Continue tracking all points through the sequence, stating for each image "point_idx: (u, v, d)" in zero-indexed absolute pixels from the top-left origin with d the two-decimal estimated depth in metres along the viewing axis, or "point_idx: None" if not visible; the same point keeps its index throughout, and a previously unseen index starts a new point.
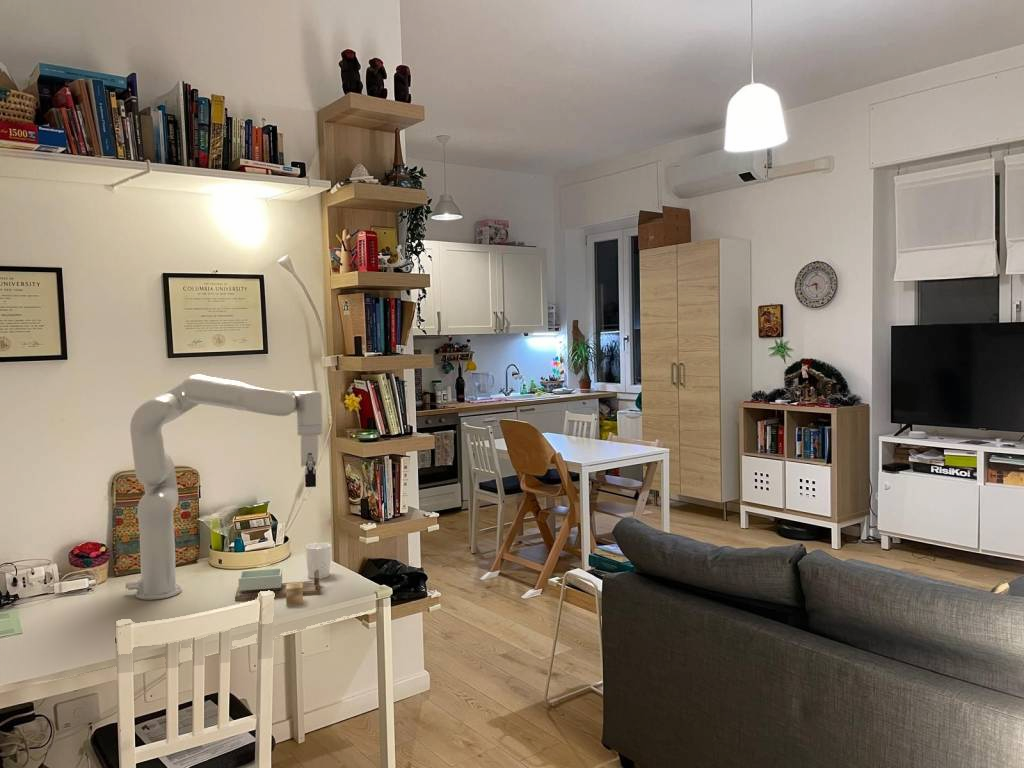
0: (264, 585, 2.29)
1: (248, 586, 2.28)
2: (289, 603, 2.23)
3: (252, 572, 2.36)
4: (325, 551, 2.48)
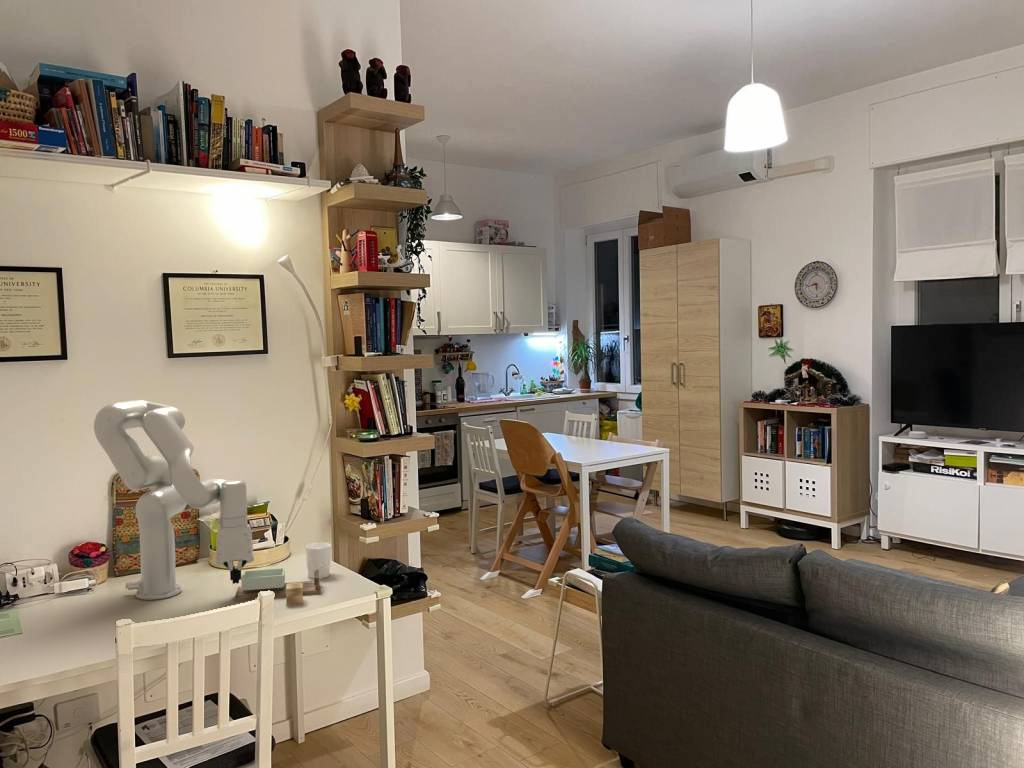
0: (267, 584, 2.30)
1: (251, 586, 2.29)
2: (289, 603, 2.23)
3: (255, 571, 2.36)
4: (325, 551, 2.48)
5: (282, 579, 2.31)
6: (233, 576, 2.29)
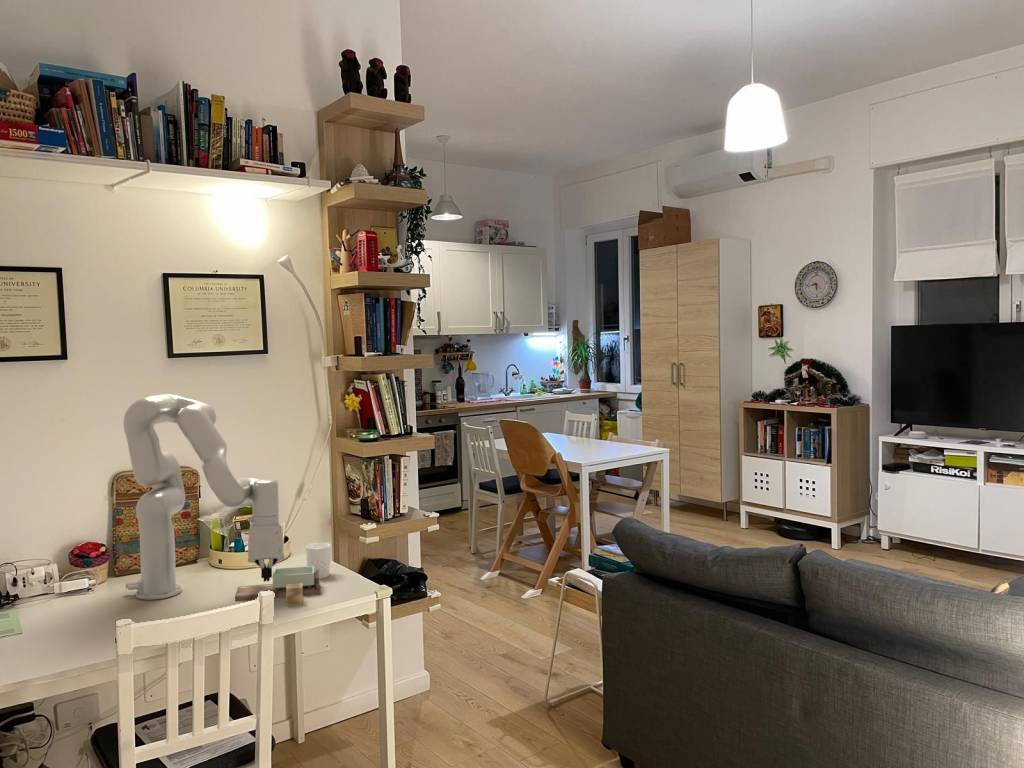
0: (297, 582, 2.32)
1: (281, 583, 2.31)
2: (289, 603, 2.23)
3: (285, 569, 2.38)
4: (325, 551, 2.48)
5: (312, 577, 2.33)
6: (264, 574, 2.32)
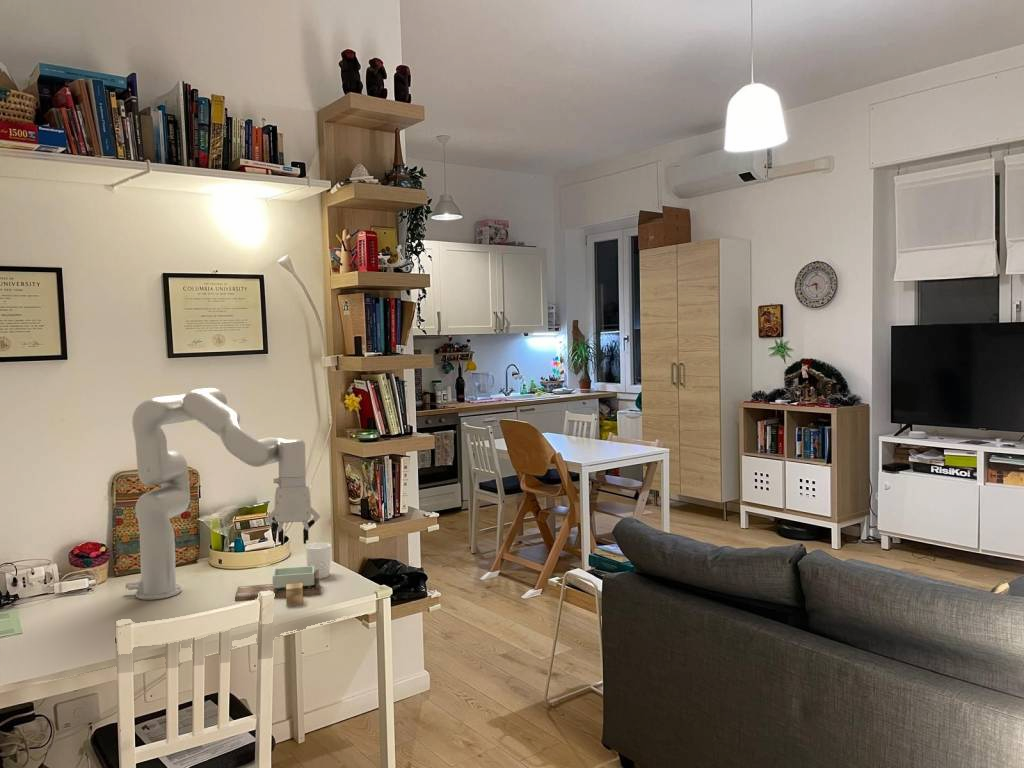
0: (297, 582, 2.32)
1: (281, 583, 2.31)
2: (289, 603, 2.23)
3: (285, 569, 2.38)
4: (325, 551, 2.48)
5: (312, 577, 2.33)
6: (281, 537, 2.22)
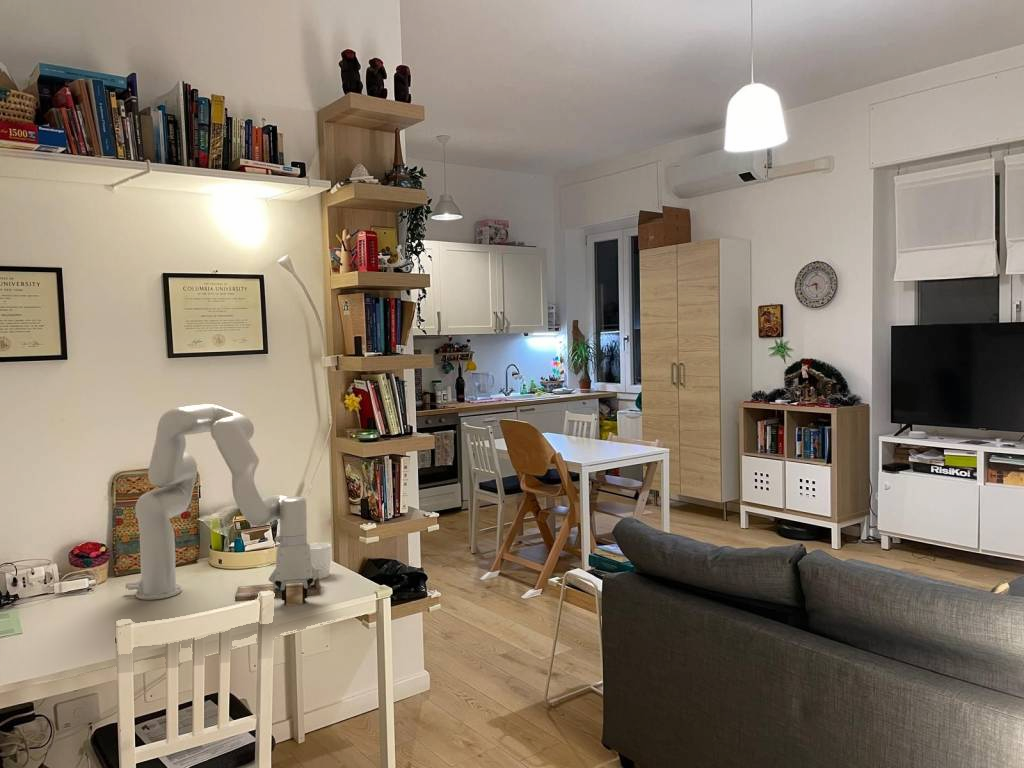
0: (297, 582, 2.32)
1: None
2: (289, 603, 2.22)
3: None
4: (325, 551, 2.48)
5: None
6: (285, 596, 2.23)
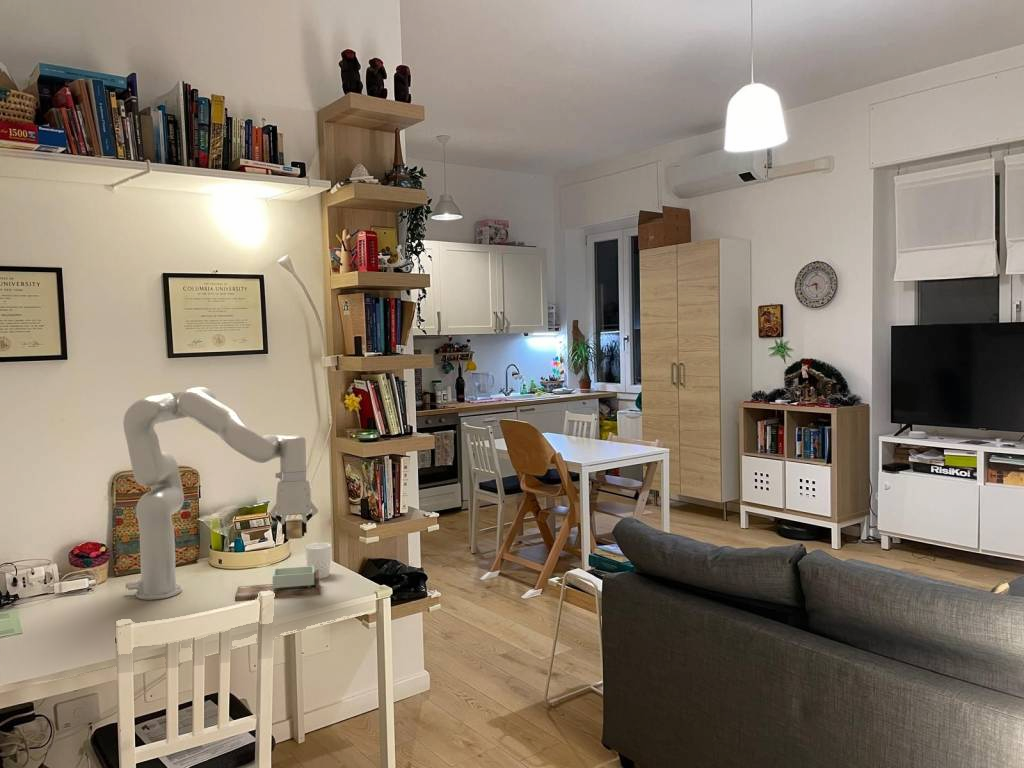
0: (297, 582, 2.32)
1: (281, 583, 2.31)
2: (289, 536, 2.32)
3: (285, 569, 2.38)
4: (325, 551, 2.48)
5: (312, 577, 2.33)
6: (285, 530, 2.33)
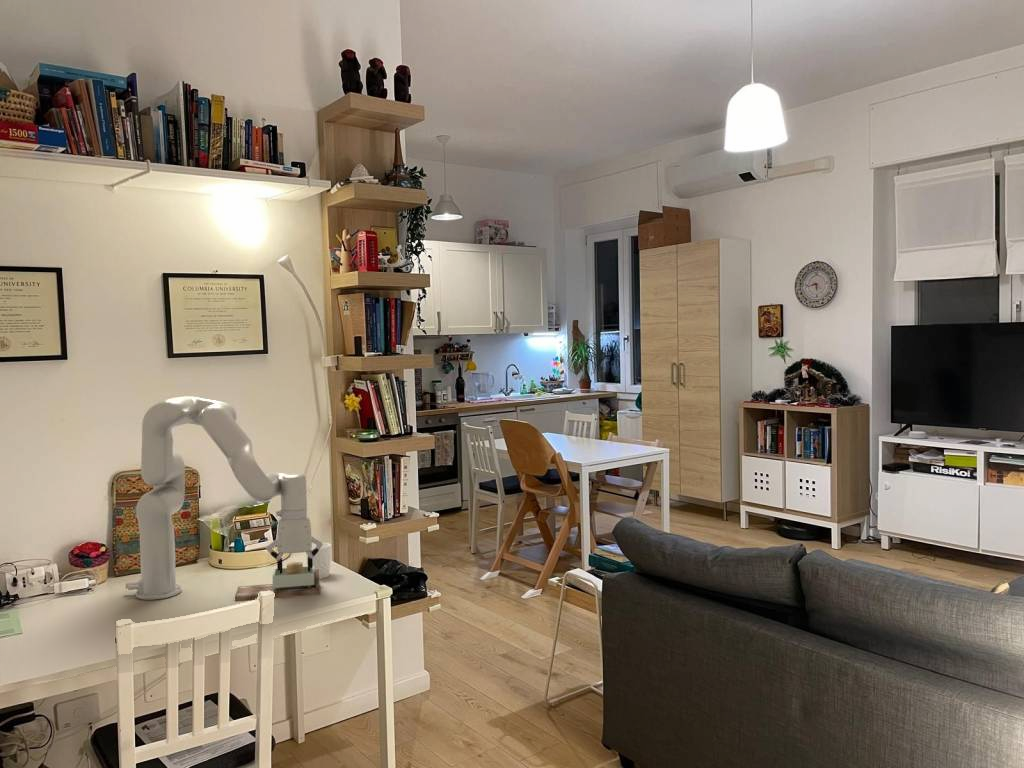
0: (297, 582, 2.32)
1: (281, 583, 2.31)
2: None
3: (285, 569, 2.38)
4: (325, 551, 2.48)
5: (312, 577, 2.33)
6: (280, 566, 2.33)
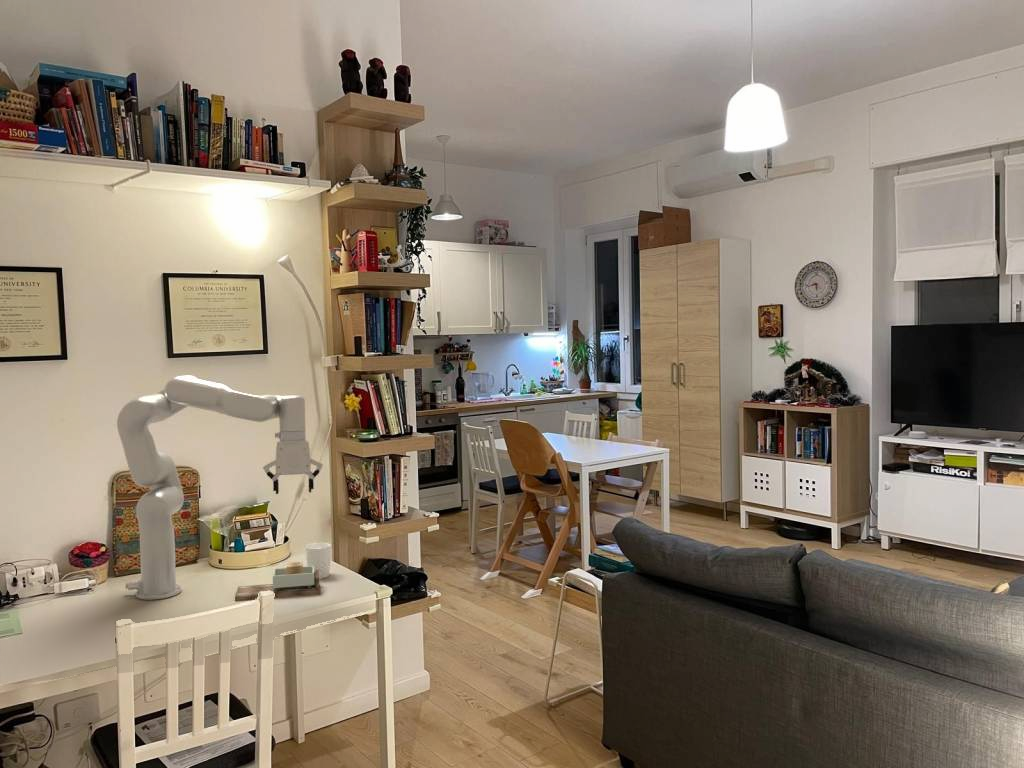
0: (297, 582, 2.32)
1: (281, 583, 2.31)
2: None
3: (285, 569, 2.38)
4: (325, 551, 2.48)
5: (312, 577, 2.33)
6: (276, 486, 2.31)
